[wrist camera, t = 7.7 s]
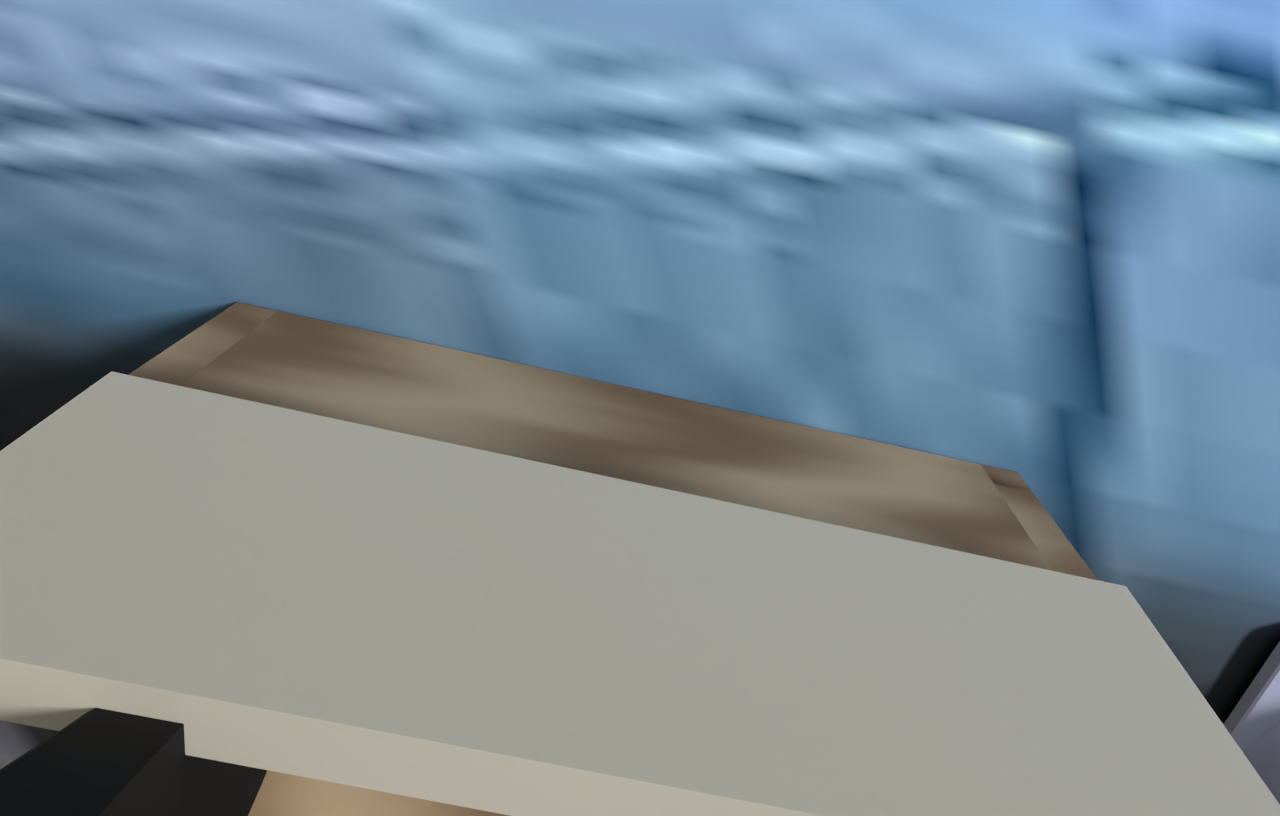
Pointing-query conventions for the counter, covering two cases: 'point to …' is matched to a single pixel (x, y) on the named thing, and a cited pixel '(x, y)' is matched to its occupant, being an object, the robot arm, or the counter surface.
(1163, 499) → the counter surface
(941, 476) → the kraft box
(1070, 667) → the flap
